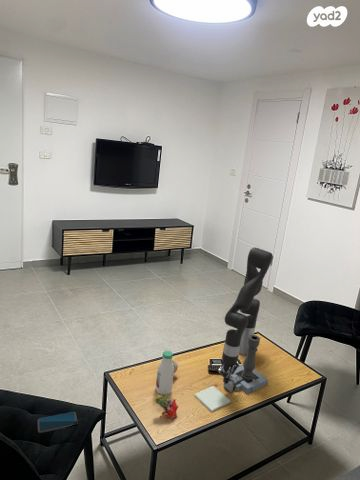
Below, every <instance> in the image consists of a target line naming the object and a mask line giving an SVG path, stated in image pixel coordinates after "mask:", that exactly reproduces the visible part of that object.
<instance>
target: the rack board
mask: <svg viewBox="0 0 360 480" xmlns="http://www.w3.org/2000/svg"><path fill="white" fill-rule="evenodd" d="M194 397H195V398H196V400H198V401H199V402H200V403H201V404H202V405H203V406H204V407H205V408H206V409H207V410H208V411H210V412H211V413H213V412H214V411H216V410H218V409H220V408H222V407H224V406H226V405H228V404H230V403H231V400H230V398H228V397H227V396H226V395H224V394H223V392H221V391H220V390H219V389H218V388H217V387H215V386H214V385H212V386H210V387H208V388H204V389H203V390H201V391H198V392H197V393H194Z"/></svg>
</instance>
